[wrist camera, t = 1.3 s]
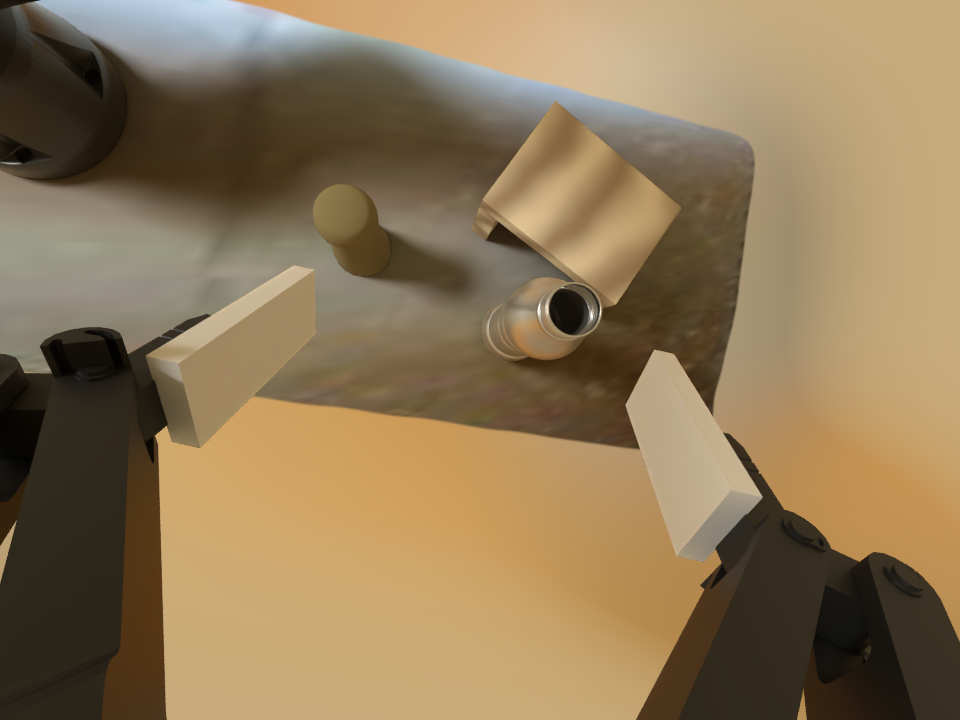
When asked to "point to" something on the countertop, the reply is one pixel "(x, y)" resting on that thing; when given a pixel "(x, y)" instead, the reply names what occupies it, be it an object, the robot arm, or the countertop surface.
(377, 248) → the cork
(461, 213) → the countertop surface
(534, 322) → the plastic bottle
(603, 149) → the birch shelf
